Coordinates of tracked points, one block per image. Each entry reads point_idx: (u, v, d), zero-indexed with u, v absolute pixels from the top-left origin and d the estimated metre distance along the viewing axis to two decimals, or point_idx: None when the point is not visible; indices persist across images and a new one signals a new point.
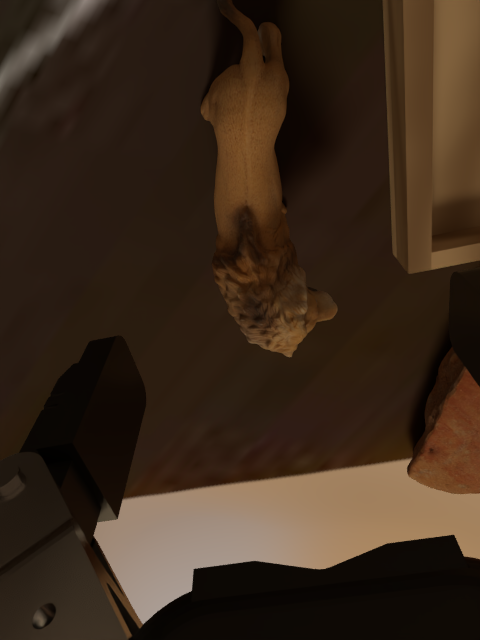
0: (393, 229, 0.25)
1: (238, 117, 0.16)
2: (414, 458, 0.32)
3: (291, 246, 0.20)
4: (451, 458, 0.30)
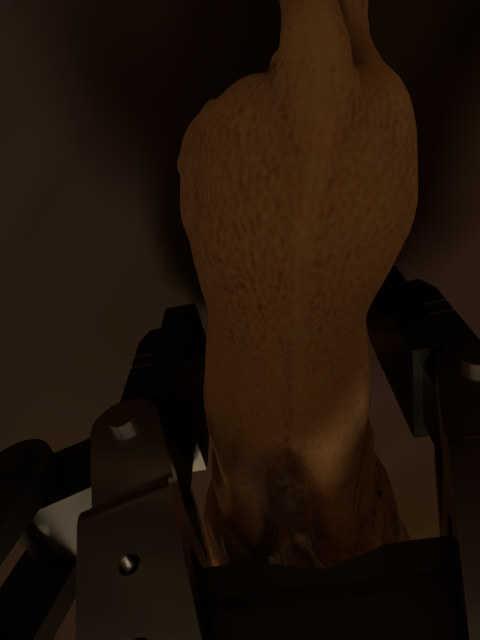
0: None
1: (269, 251, 0.05)
2: None
3: (386, 490, 0.09)
4: None
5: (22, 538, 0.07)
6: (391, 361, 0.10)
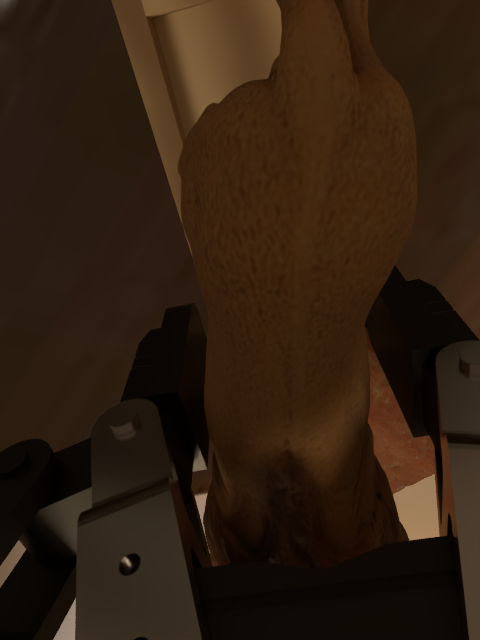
0: None
1: (269, 256, 0.05)
2: None
3: (386, 492, 0.09)
4: None
5: (22, 538, 0.07)
6: (391, 361, 0.10)
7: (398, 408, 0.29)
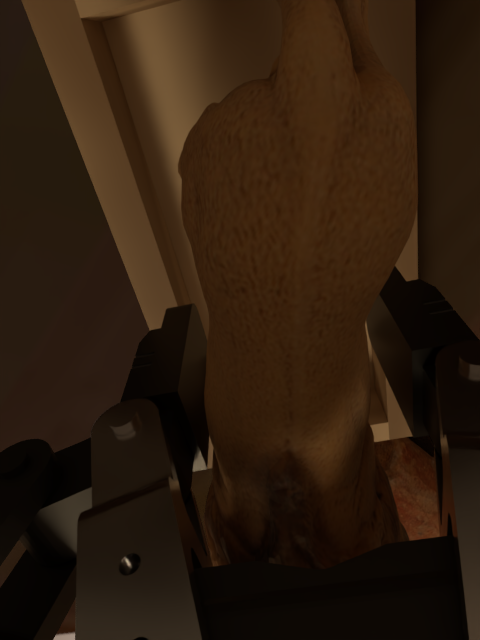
0: None
1: (270, 256, 0.05)
2: None
3: (386, 492, 0.09)
4: None
5: (22, 538, 0.07)
6: (391, 361, 0.10)
7: None
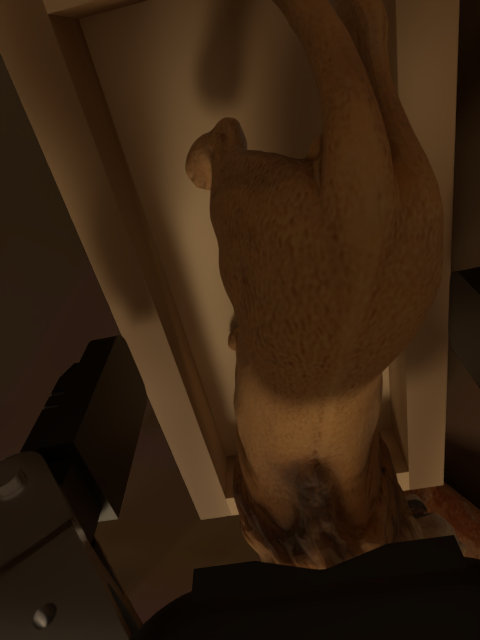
0: None
1: (317, 343, 0.06)
2: None
3: (389, 466, 0.10)
4: None
5: None
6: None
7: None
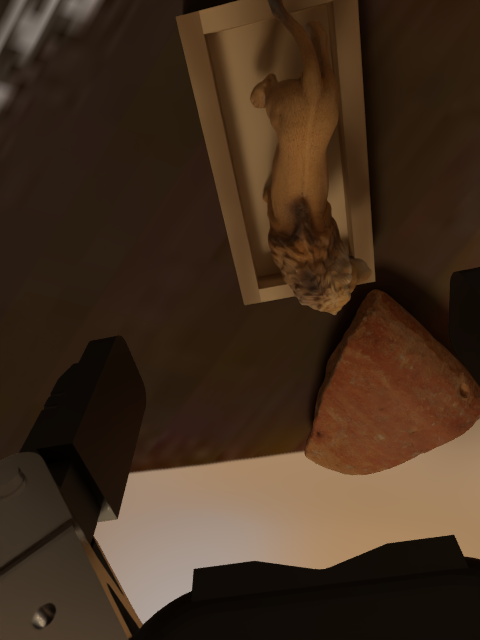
0: None
1: (301, 129, 0.20)
2: (307, 440, 0.38)
3: (335, 223, 0.24)
4: (334, 440, 0.36)
5: None
6: None
7: (420, 376, 0.33)
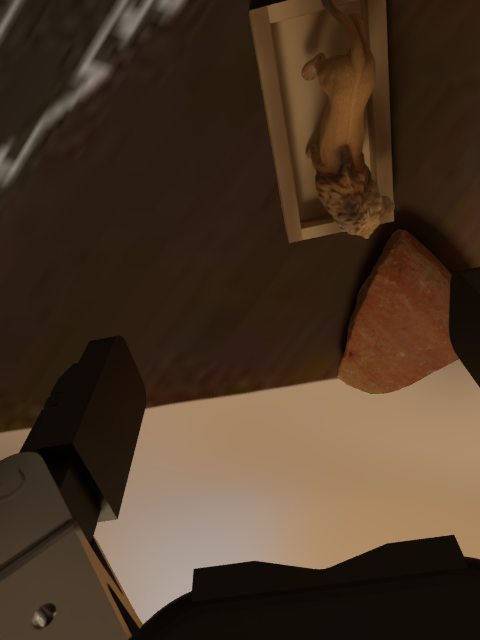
0: (283, 215, 0.40)
1: (349, 90, 0.27)
2: (340, 361, 0.45)
3: (367, 167, 0.32)
4: (363, 359, 0.44)
5: None
6: None
7: (436, 298, 0.41)
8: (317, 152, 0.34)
